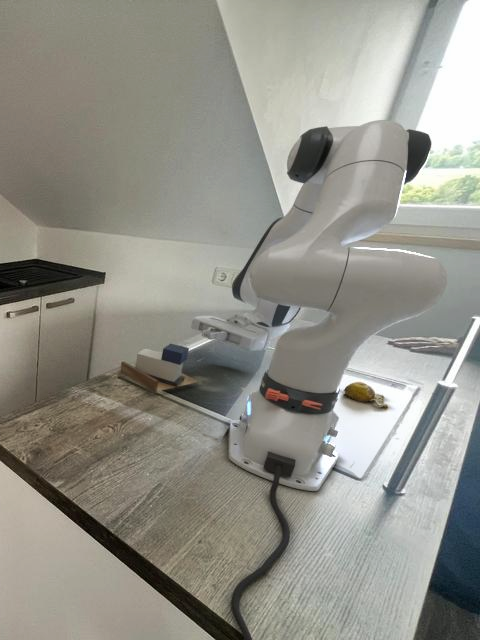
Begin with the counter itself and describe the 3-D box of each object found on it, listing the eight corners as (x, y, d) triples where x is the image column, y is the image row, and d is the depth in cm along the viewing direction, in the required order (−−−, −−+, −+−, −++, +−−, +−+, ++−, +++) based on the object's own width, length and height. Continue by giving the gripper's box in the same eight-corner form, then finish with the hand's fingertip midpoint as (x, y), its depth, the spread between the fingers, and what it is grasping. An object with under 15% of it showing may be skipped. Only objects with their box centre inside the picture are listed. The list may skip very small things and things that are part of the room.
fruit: (389, 410, 92) (395, 396, 90) (344, 400, 96) (349, 387, 94) (382, 396, 98) (388, 383, 96) (340, 387, 102) (345, 375, 101)
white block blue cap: (184, 379, 103) (191, 348, 100) (176, 387, 100) (183, 354, 96) (140, 367, 111) (146, 337, 107) (132, 373, 107) (137, 342, 103)
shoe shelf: (162, 366, 114) (164, 353, 112) (198, 385, 103) (201, 371, 101) (119, 375, 108) (121, 361, 107) (152, 396, 97) (155, 381, 96)
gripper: (213, 308, 119) (179, 313, 114) (279, 329, 102) (242, 336, 97) (209, 328, 122) (175, 334, 117) (272, 351, 104) (236, 359, 99)
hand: (206, 335), depth 107 cm, fingers closed
